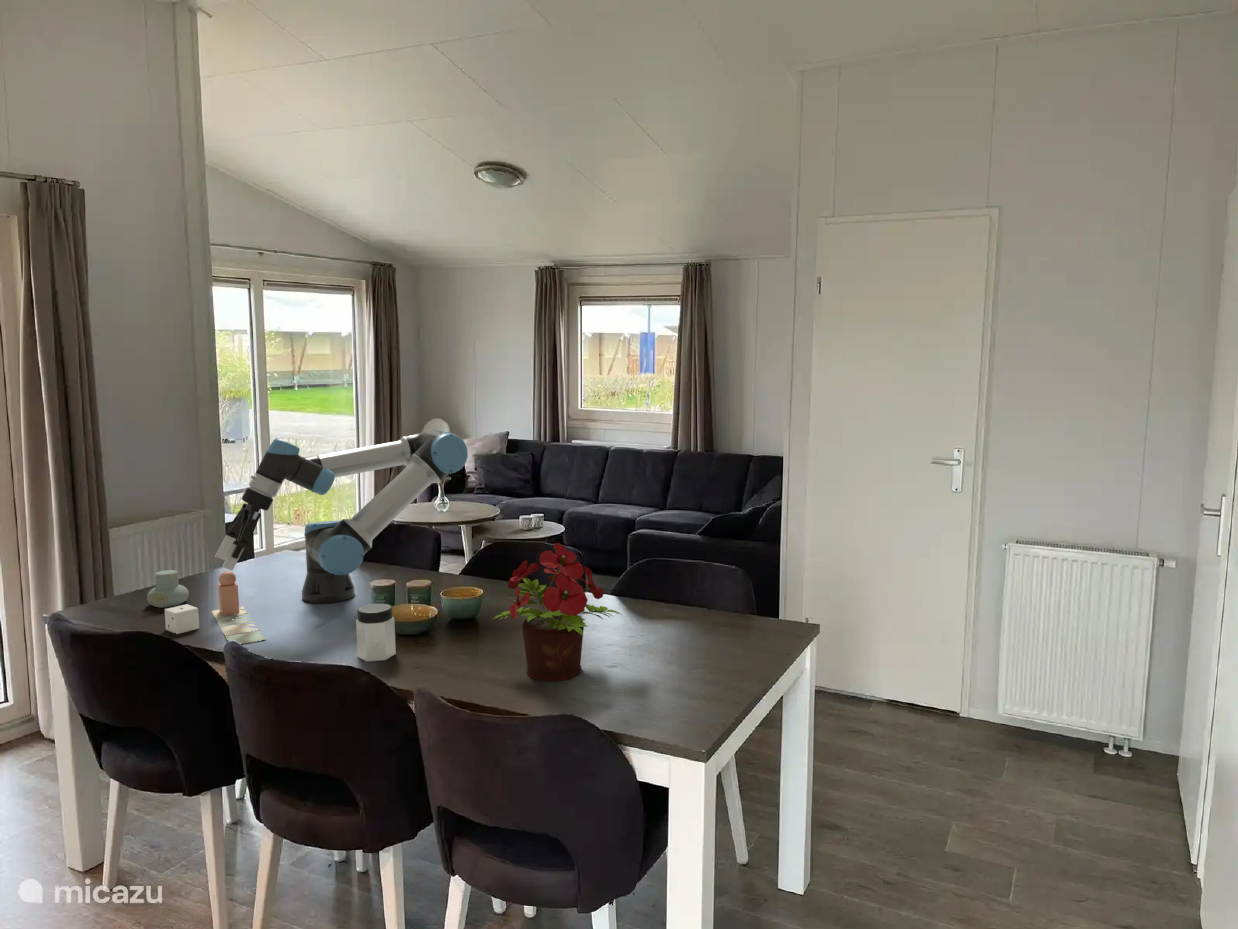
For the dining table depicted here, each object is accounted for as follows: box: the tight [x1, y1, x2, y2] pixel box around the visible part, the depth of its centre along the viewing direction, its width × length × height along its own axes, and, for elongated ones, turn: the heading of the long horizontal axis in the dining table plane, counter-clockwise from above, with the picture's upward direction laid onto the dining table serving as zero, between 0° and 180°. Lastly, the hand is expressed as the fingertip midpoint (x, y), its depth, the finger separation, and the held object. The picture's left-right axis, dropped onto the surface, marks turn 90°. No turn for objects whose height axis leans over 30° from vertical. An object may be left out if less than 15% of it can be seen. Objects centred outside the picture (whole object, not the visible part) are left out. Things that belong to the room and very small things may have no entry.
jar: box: [355, 603, 397, 663], centre depth 216 cm, size 9×8×12 cm
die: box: [164, 604, 200, 635], centre depth 237 cm, size 6×6×6 cm
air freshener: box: [146, 569, 190, 609], centre depth 260 cm, size 11×8×10 cm
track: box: [211, 605, 267, 645], centre depth 241 cm, size 8×36×1 cm, turn 31°
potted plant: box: [491, 542, 622, 682], centre depth 205 cm, size 30×27×30 cm
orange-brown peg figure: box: [217, 570, 240, 615], centre depth 252 cm, size 4×4×12 cm
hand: (223, 563), depth 240 cm, fingers open, 13 cm apart
